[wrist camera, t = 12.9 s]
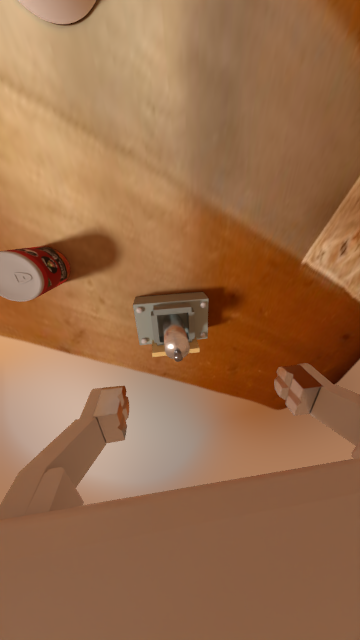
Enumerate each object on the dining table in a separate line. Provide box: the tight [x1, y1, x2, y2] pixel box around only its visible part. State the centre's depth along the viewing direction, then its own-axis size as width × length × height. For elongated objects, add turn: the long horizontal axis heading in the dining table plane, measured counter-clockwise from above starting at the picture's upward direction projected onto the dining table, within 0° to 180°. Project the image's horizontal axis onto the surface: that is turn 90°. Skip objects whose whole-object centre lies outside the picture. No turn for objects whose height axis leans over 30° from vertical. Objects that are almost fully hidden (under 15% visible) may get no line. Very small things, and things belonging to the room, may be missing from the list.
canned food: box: [0, 247, 70, 301], centre depth 32 cm, size 8×8×11 cm
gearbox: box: [133, 292, 208, 357], centre depth 40 cm, size 10×16×10 cm, turn 92°
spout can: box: [163, 314, 190, 362], centre depth 35 cm, size 4×4×11 cm
